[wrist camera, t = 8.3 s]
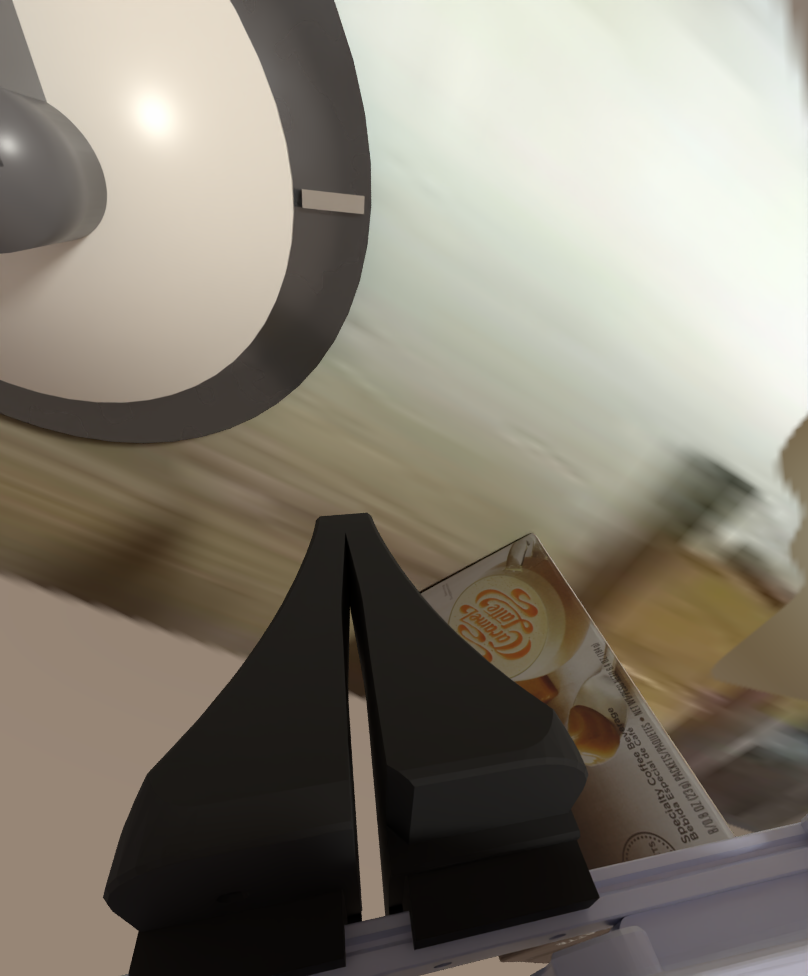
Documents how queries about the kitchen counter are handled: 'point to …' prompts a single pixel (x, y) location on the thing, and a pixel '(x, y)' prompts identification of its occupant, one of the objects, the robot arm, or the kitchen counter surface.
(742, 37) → the kitchen counter surface
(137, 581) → the kitchen counter surface
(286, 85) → the dial plate
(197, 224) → the dial
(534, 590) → the coffee box
